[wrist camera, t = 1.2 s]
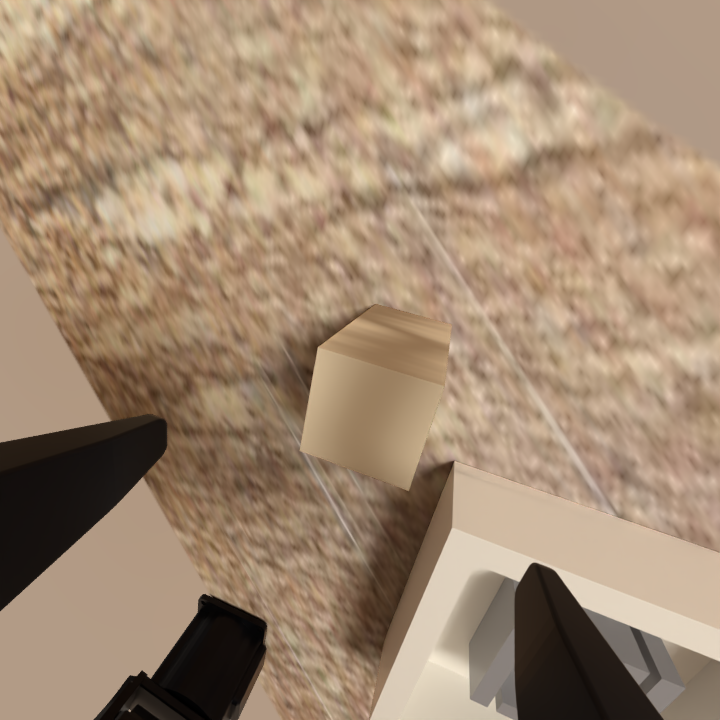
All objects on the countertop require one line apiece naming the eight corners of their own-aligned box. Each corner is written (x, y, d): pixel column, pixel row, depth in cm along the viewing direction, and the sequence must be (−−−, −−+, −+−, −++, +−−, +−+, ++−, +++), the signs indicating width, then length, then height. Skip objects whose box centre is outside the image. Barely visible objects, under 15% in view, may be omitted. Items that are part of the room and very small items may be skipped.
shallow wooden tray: (384, 639, 26) (368, 723, 21) (454, 460, 20) (452, 527, 15) (627, 749, 23) (668, 875, 18) (803, 581, 17) (932, 711, 12)
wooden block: (360, 372, 19) (299, 450, 12) (376, 303, 18) (317, 347, 11) (429, 393, 19) (408, 490, 11) (451, 324, 17) (444, 386, 10)
